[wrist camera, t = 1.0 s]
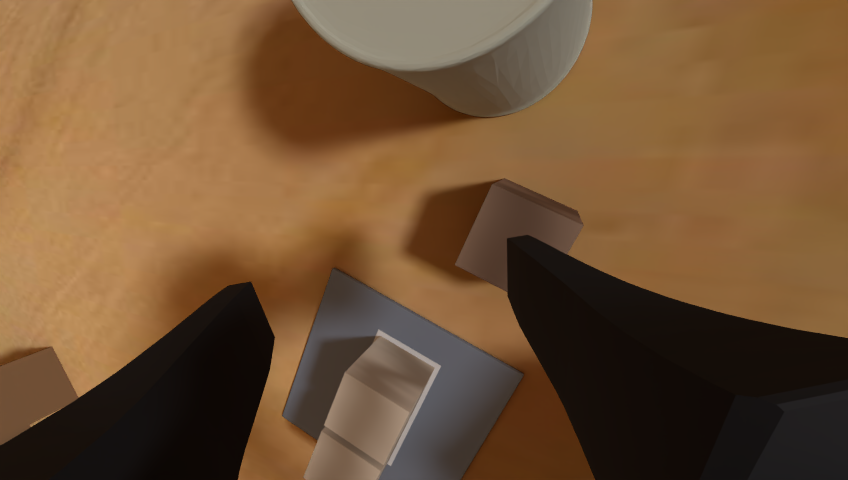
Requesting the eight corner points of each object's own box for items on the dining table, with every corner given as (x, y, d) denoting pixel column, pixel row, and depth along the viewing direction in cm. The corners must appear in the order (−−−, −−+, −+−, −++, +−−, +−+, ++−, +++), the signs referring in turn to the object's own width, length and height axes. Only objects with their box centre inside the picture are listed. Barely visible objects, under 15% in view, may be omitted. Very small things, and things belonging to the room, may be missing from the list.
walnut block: (577, 210, 20) (583, 225, 16) (540, 276, 21) (536, 307, 17) (504, 178, 21) (492, 184, 16) (473, 244, 22) (454, 264, 18)
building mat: (523, 373, 23) (523, 375, 22) (436, 518, 27) (435, 521, 27) (334, 267, 26) (332, 268, 25) (283, 414, 30) (282, 416, 30)
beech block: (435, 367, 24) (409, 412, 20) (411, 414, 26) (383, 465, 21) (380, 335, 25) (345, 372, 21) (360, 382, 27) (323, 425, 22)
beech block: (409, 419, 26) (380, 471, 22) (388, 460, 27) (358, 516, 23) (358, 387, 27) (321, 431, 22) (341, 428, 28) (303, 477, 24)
